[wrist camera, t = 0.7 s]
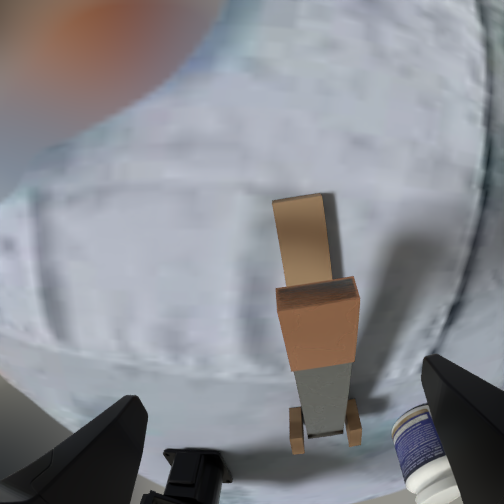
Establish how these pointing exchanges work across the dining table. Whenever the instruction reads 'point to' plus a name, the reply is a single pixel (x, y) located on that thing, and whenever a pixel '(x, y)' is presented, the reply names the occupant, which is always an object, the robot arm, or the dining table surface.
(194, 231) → the dining table surface
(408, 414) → the pill bottle
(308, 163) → the dining table surface
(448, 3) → the dining table surface
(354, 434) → the walnut tong base
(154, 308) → the dining table surface
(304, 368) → the metal tong arm
